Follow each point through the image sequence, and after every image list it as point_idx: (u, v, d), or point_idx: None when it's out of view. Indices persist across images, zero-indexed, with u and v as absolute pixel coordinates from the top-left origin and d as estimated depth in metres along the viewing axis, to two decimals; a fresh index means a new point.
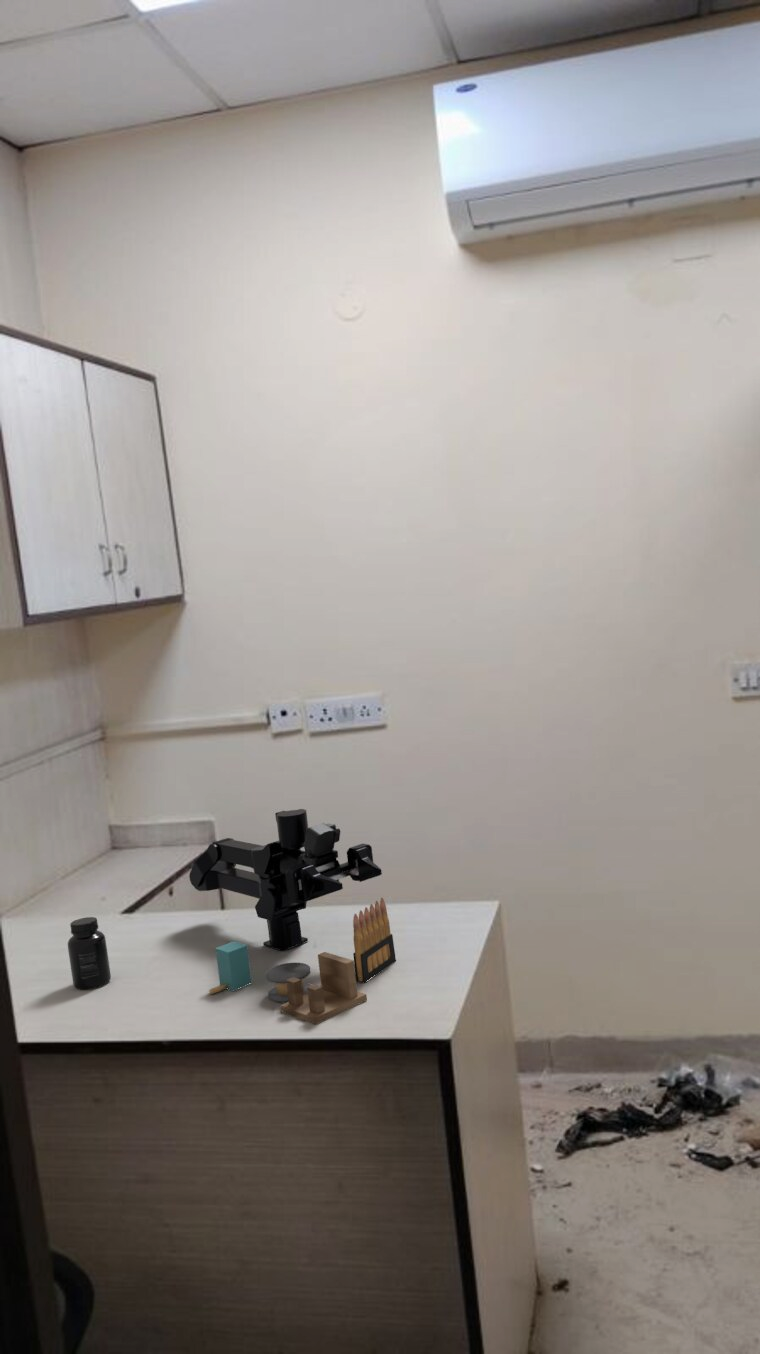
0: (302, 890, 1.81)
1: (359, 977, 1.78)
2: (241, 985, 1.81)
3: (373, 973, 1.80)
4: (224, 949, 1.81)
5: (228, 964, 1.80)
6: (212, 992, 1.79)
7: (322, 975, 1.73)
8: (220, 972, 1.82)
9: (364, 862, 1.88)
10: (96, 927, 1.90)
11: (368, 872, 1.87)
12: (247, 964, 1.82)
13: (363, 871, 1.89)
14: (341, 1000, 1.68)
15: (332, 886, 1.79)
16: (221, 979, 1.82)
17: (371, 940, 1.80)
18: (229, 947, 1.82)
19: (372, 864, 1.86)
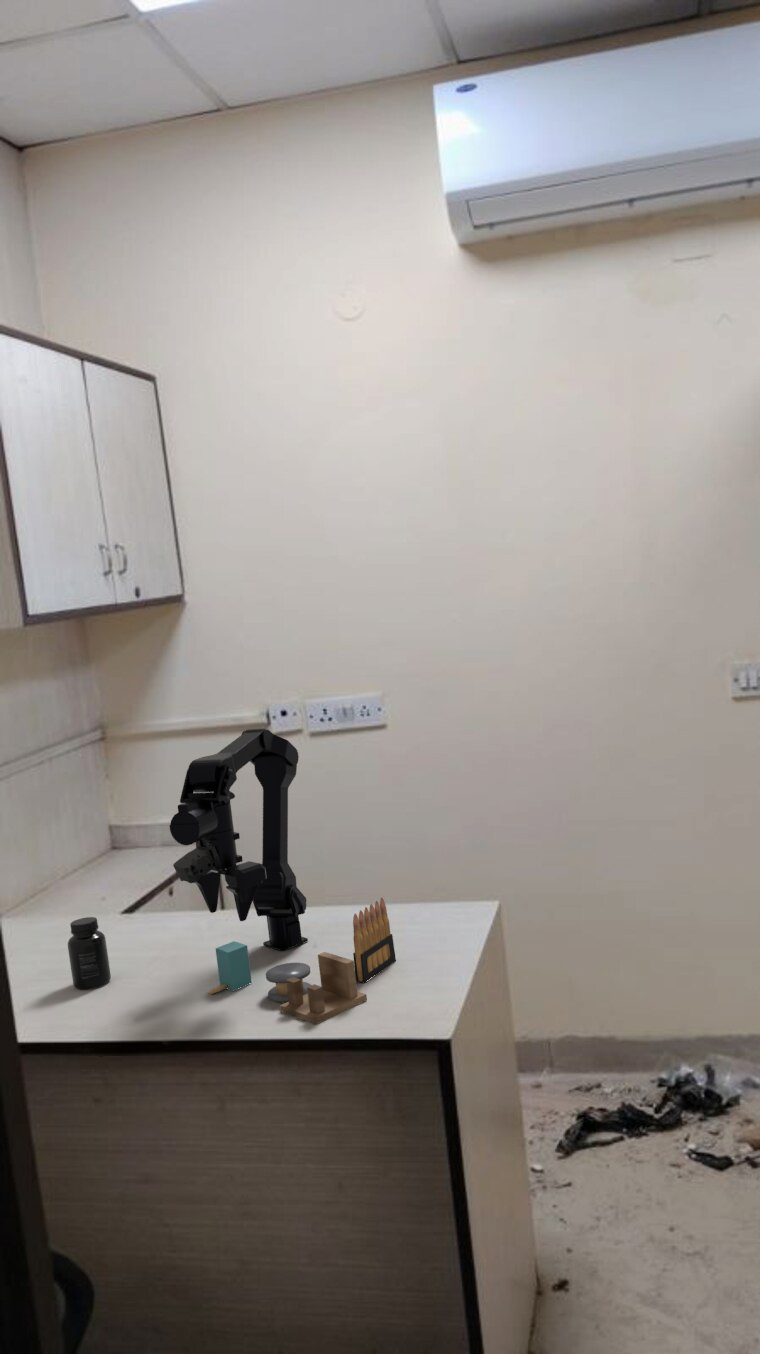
0: None
1: (359, 977, 1.78)
2: (241, 985, 1.81)
3: (373, 973, 1.80)
4: (224, 949, 1.81)
5: (228, 964, 1.80)
6: (212, 992, 1.79)
7: (322, 975, 1.73)
8: (220, 972, 1.82)
9: None
10: (96, 927, 1.90)
11: None
12: (247, 964, 1.82)
13: None
14: (341, 1000, 1.68)
15: None
16: (221, 979, 1.82)
17: (371, 940, 1.80)
18: (229, 947, 1.82)
19: (237, 908, 1.77)
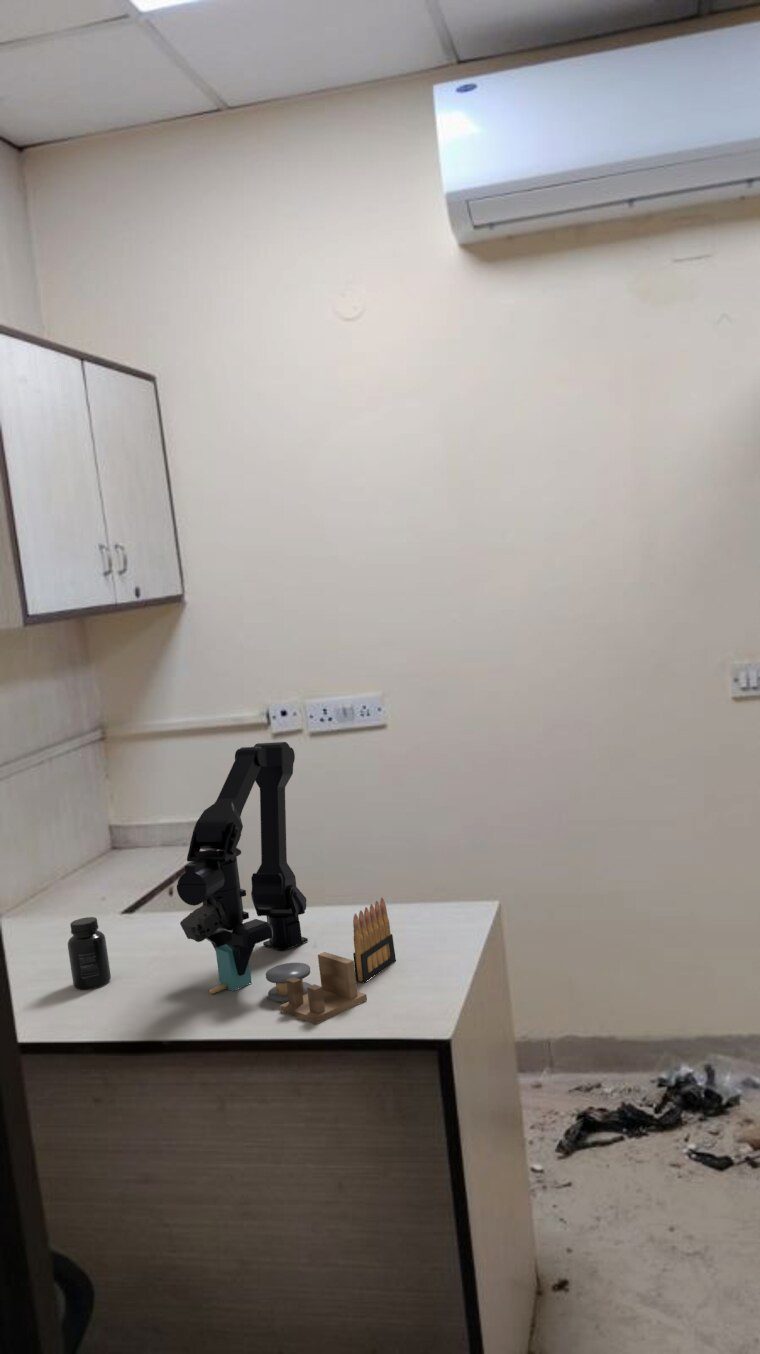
0: None
1: (359, 977, 1.78)
2: (241, 985, 1.81)
3: (373, 973, 1.80)
4: (224, 949, 1.81)
5: (228, 964, 1.80)
6: (212, 992, 1.79)
7: (322, 975, 1.73)
8: (220, 972, 1.82)
9: None
10: (96, 927, 1.90)
11: None
12: None
13: None
14: (341, 1000, 1.68)
15: None
16: (221, 979, 1.82)
17: (371, 940, 1.80)
18: (229, 947, 1.82)
19: (236, 963, 1.80)
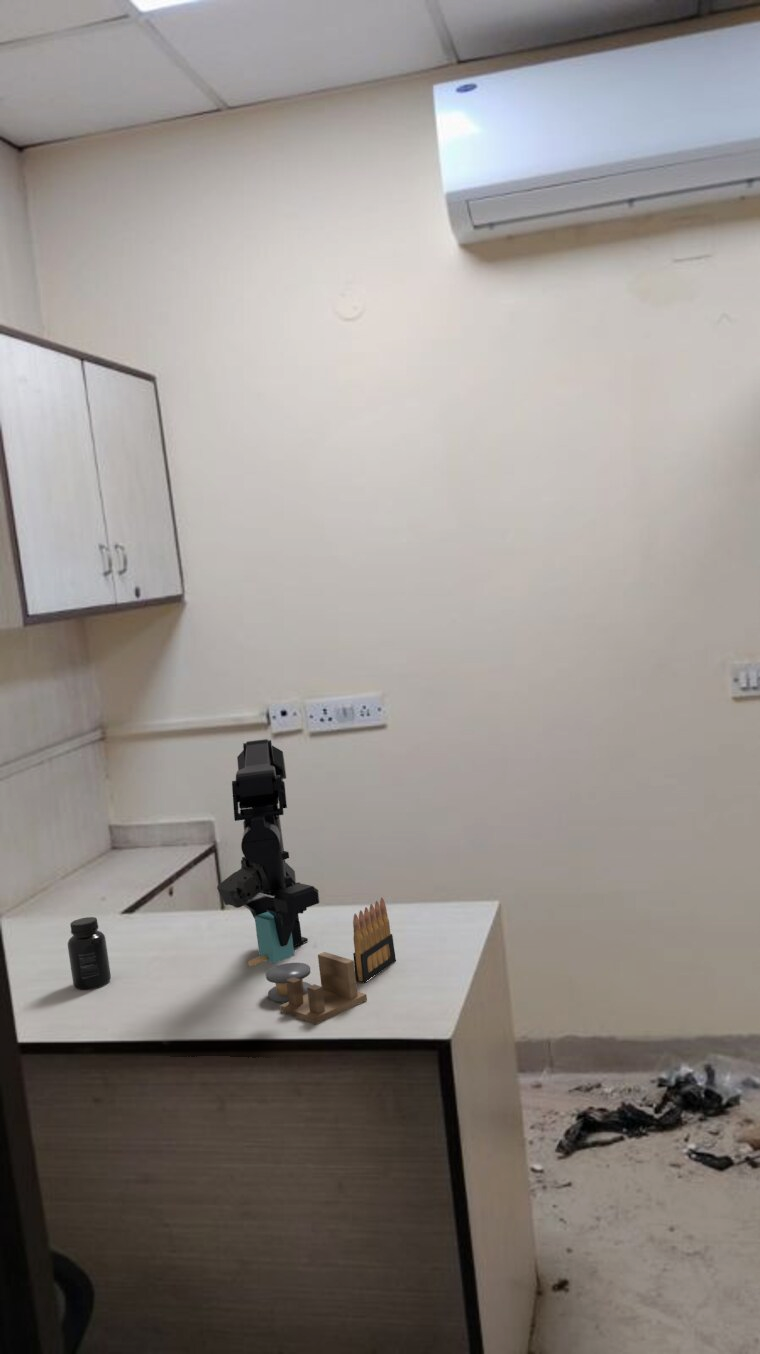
0: None
1: (359, 977, 1.78)
2: (283, 957, 1.64)
3: (373, 973, 1.80)
4: (264, 916, 1.65)
5: (269, 933, 1.63)
6: (251, 964, 1.62)
7: (322, 975, 1.73)
8: (259, 942, 1.65)
9: None
10: (96, 927, 1.90)
11: None
12: None
13: None
14: (341, 1000, 1.68)
15: None
16: (261, 950, 1.66)
17: (371, 940, 1.80)
18: (269, 915, 1.65)
19: (278, 933, 1.63)
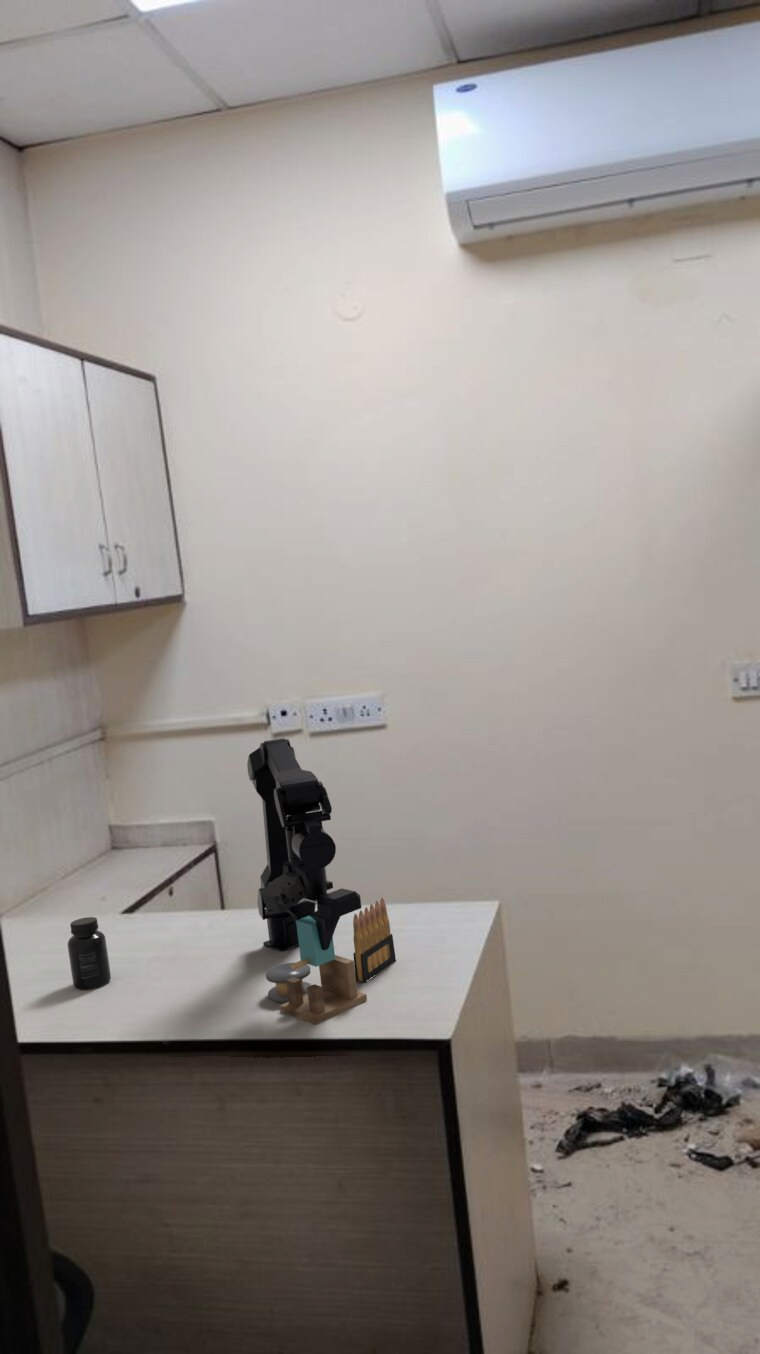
0: None
1: (359, 977, 1.78)
2: (324, 960, 1.67)
3: (373, 973, 1.80)
4: (305, 921, 1.67)
5: (311, 937, 1.66)
6: (294, 967, 1.65)
7: (322, 975, 1.73)
8: (301, 946, 1.68)
9: None
10: (96, 927, 1.90)
11: None
12: None
13: None
14: (341, 1000, 1.68)
15: None
16: (302, 954, 1.68)
17: (371, 940, 1.80)
18: (311, 919, 1.68)
19: (320, 937, 1.66)
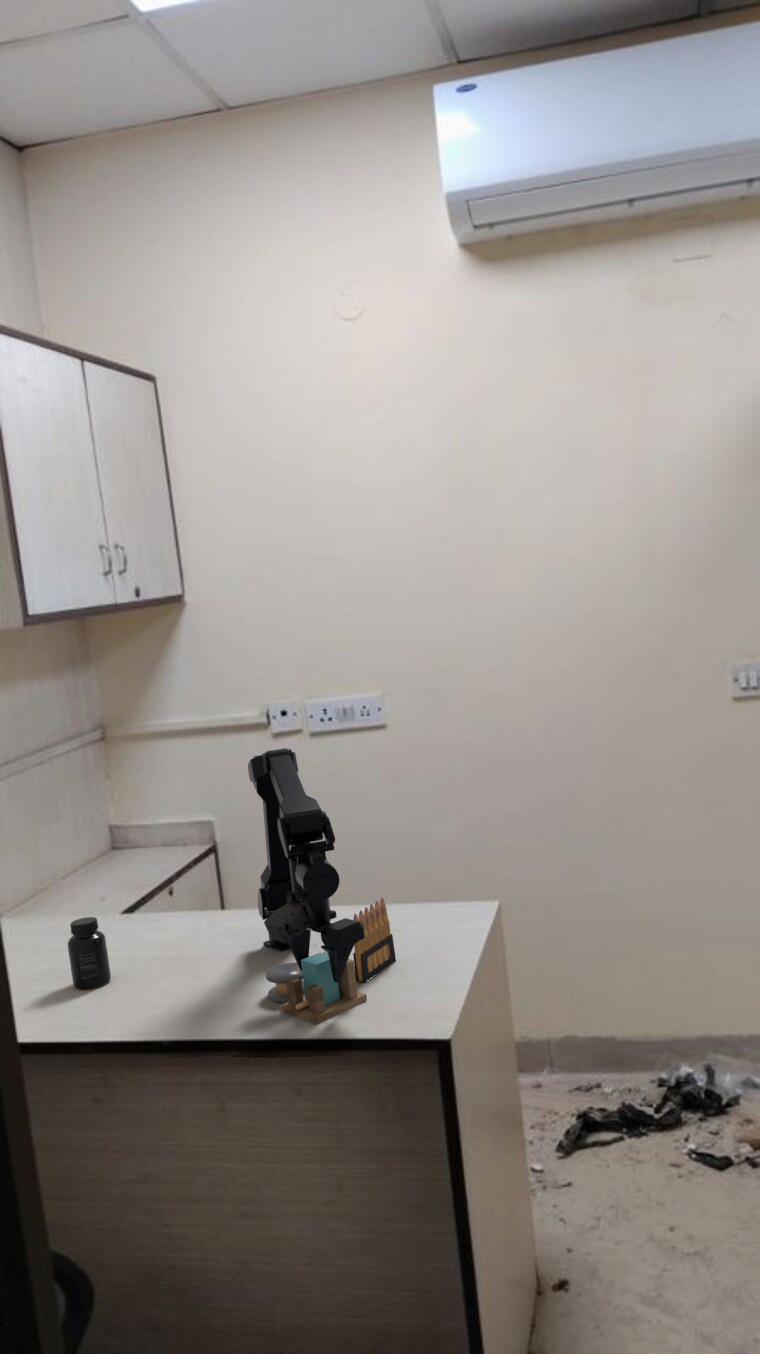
0: None
1: (359, 977, 1.78)
2: (329, 1000, 1.68)
3: (373, 973, 1.80)
4: (310, 961, 1.68)
5: (316, 978, 1.66)
6: (299, 1008, 1.66)
7: None
8: (306, 986, 1.69)
9: None
10: (96, 927, 1.90)
11: None
12: None
13: None
14: (341, 1000, 1.68)
15: None
16: (307, 993, 1.69)
17: (371, 940, 1.80)
18: (316, 959, 1.68)
19: (332, 969, 1.65)
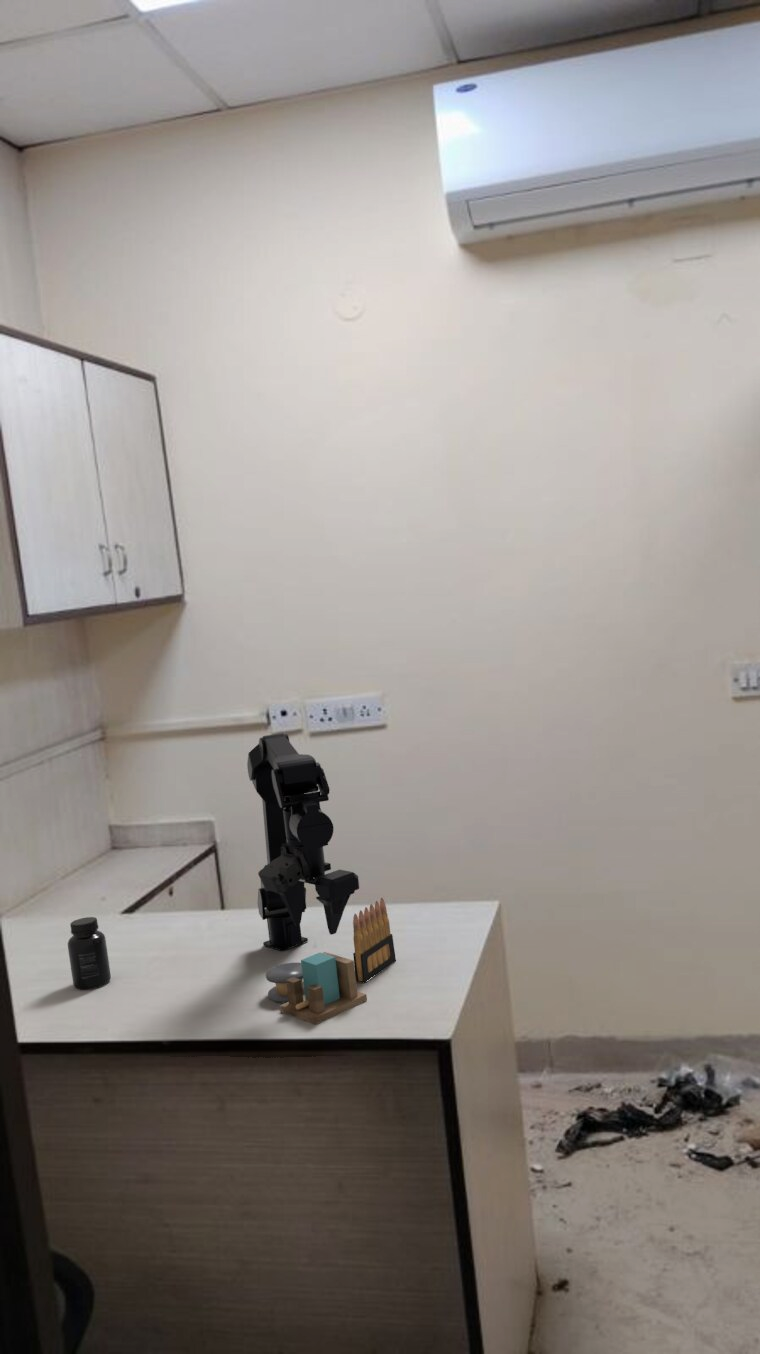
0: None
1: (359, 977, 1.78)
2: (329, 1000, 1.68)
3: (373, 973, 1.80)
4: (310, 961, 1.68)
5: (316, 978, 1.66)
6: (299, 1008, 1.66)
7: None
8: (306, 986, 1.69)
9: None
10: (96, 927, 1.90)
11: None
12: (335, 977, 1.69)
13: None
14: (341, 1000, 1.68)
15: None
16: (307, 993, 1.69)
17: (371, 940, 1.80)
18: (316, 959, 1.68)
19: (327, 921, 1.64)
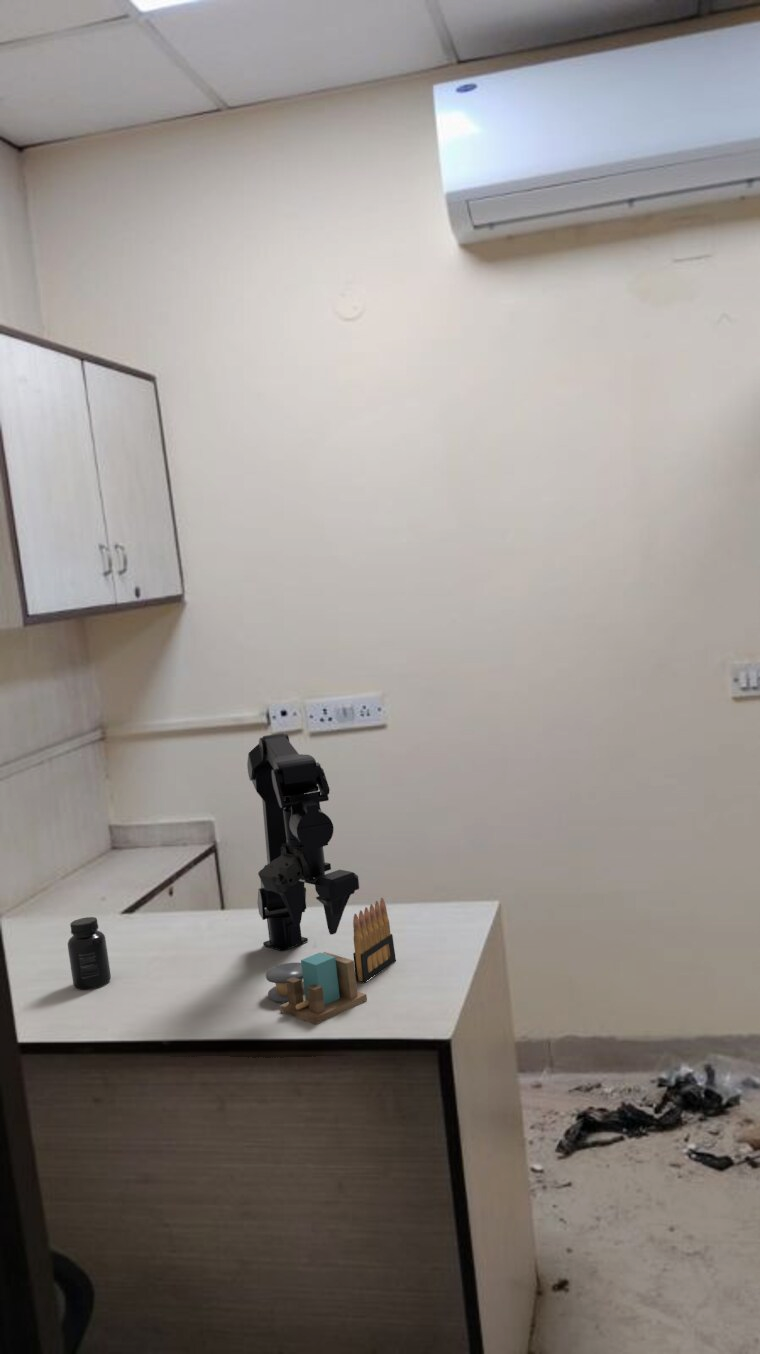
0: None
1: (359, 977, 1.78)
2: (329, 1000, 1.68)
3: (373, 973, 1.80)
4: (310, 961, 1.68)
5: (316, 978, 1.66)
6: (299, 1008, 1.66)
7: None
8: (306, 986, 1.69)
9: None
10: (96, 927, 1.90)
11: None
12: (335, 977, 1.69)
13: None
14: (341, 1000, 1.68)
15: None
16: (307, 993, 1.69)
17: (371, 940, 1.80)
18: (316, 959, 1.68)
19: (327, 921, 1.64)
